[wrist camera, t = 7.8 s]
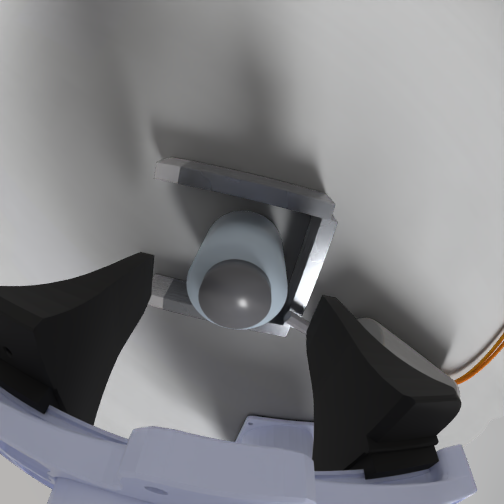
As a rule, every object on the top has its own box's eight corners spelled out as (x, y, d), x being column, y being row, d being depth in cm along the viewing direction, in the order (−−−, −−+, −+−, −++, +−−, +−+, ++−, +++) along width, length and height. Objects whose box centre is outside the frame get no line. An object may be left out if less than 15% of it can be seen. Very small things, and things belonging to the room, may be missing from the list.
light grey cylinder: (264, 291, 18) (263, 351, 13) (196, 266, 17) (172, 320, 12) (295, 228, 16) (307, 275, 11) (220, 198, 15) (198, 234, 11)
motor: (421, 410, 23) (442, 442, 18) (254, 324, 18) (262, 379, 13) (545, 239, 18) (575, 254, 13) (451, 59, 13) (498, 45, 8)
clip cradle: (290, 315, 18) (292, 338, 16) (155, 284, 18) (143, 303, 16) (333, 195, 15) (343, 206, 13) (170, 156, 14) (156, 162, 12)
